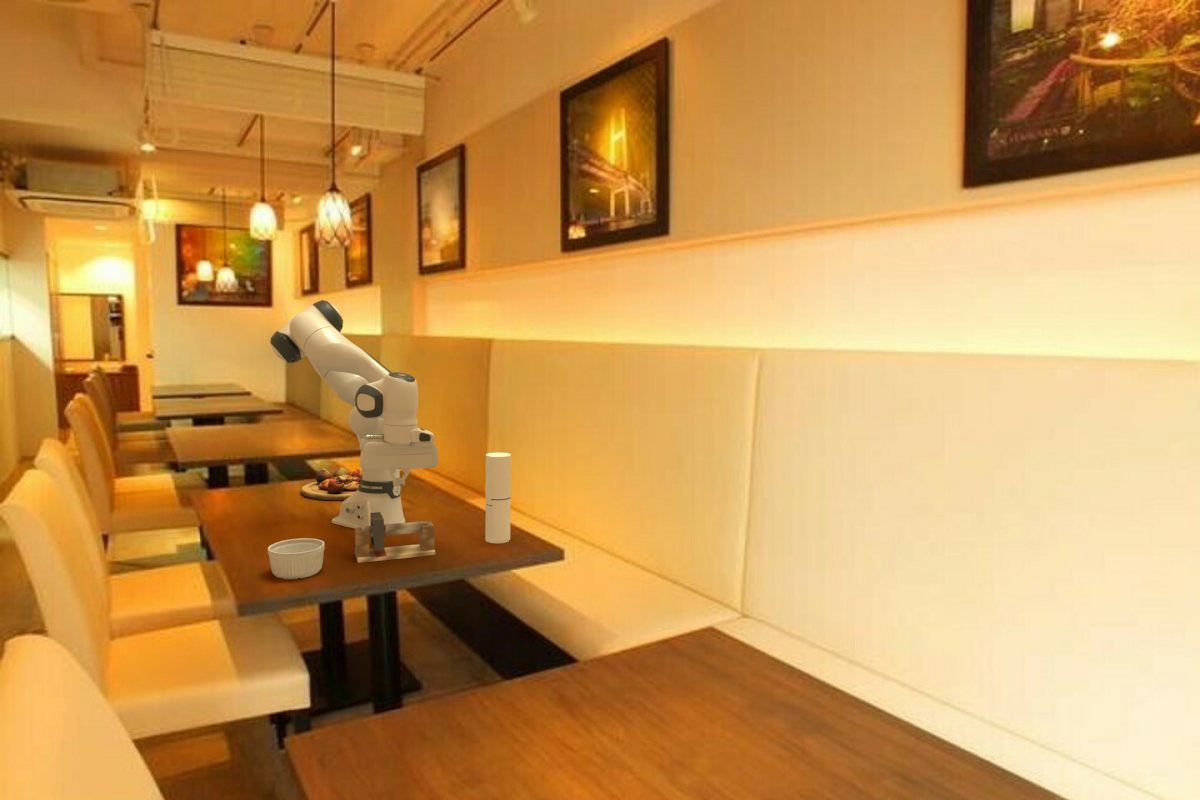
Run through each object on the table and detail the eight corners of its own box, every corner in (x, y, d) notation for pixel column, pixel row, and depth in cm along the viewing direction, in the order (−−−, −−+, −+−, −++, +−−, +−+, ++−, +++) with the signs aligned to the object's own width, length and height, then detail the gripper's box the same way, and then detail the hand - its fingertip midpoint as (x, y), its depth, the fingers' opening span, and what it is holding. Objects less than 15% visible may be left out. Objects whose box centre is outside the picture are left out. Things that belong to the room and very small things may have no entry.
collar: (374, 550, 199) (373, 520, 199) (370, 541, 207) (370, 512, 206) (384, 549, 200) (383, 519, 200) (380, 540, 208) (379, 512, 207)
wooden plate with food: (360, 505, 260) (360, 481, 259) (281, 496, 268) (281, 473, 268) (409, 488, 290) (409, 466, 289) (336, 481, 299) (337, 460, 298)
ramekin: (256, 576, 186) (255, 549, 186) (295, 561, 199) (294, 535, 198) (299, 584, 182) (298, 556, 181) (336, 568, 194) (336, 541, 193)
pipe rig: (357, 562, 198) (357, 531, 197) (354, 554, 205) (354, 523, 205) (435, 554, 206) (435, 524, 205) (429, 546, 213) (429, 517, 212)
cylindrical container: (505, 544, 217) (506, 457, 214) (481, 542, 218) (482, 456, 216) (513, 537, 224) (514, 453, 221) (490, 535, 225) (490, 451, 223)
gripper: (361, 436, 196) (359, 489, 197) (440, 435, 204) (438, 486, 206) (358, 432, 201) (356, 483, 203) (435, 431, 210) (433, 480, 212)
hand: (398, 485), depth 205 cm, fingers closed
